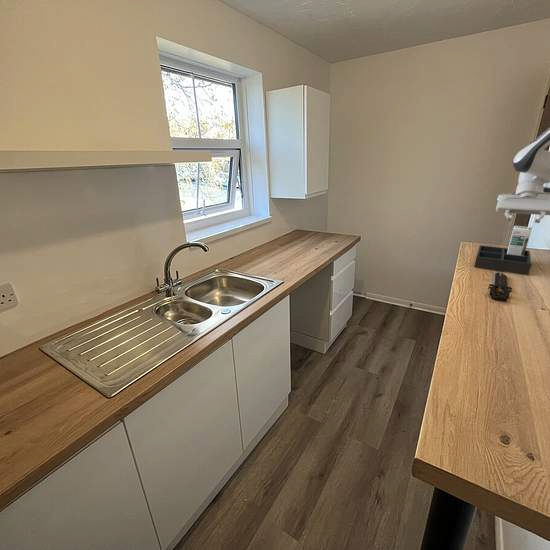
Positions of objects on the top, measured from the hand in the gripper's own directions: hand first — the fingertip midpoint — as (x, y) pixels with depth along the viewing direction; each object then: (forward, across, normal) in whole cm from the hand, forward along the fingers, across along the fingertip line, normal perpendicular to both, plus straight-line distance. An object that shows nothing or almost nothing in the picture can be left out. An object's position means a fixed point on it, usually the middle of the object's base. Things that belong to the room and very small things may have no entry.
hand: (522, 221), depth 125 cm
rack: (+20, -4, +2) cm, 21 cm away
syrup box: (+17, 0, +5) cm, 17 cm away
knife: (+38, -4, -15) cm, 41 cm away
